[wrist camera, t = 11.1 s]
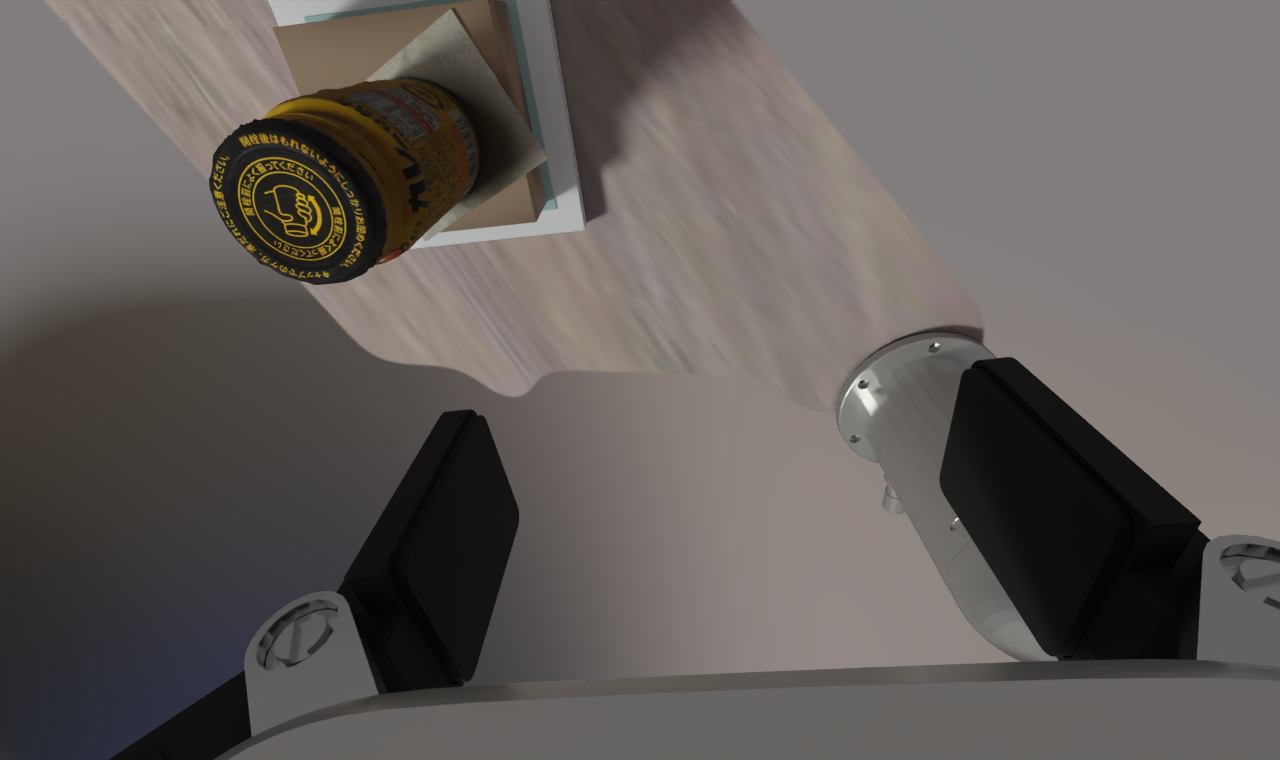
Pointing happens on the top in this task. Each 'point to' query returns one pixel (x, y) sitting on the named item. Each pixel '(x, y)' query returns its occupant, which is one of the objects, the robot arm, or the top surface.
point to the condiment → (373, 161)
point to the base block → (371, 40)
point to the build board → (543, 95)
